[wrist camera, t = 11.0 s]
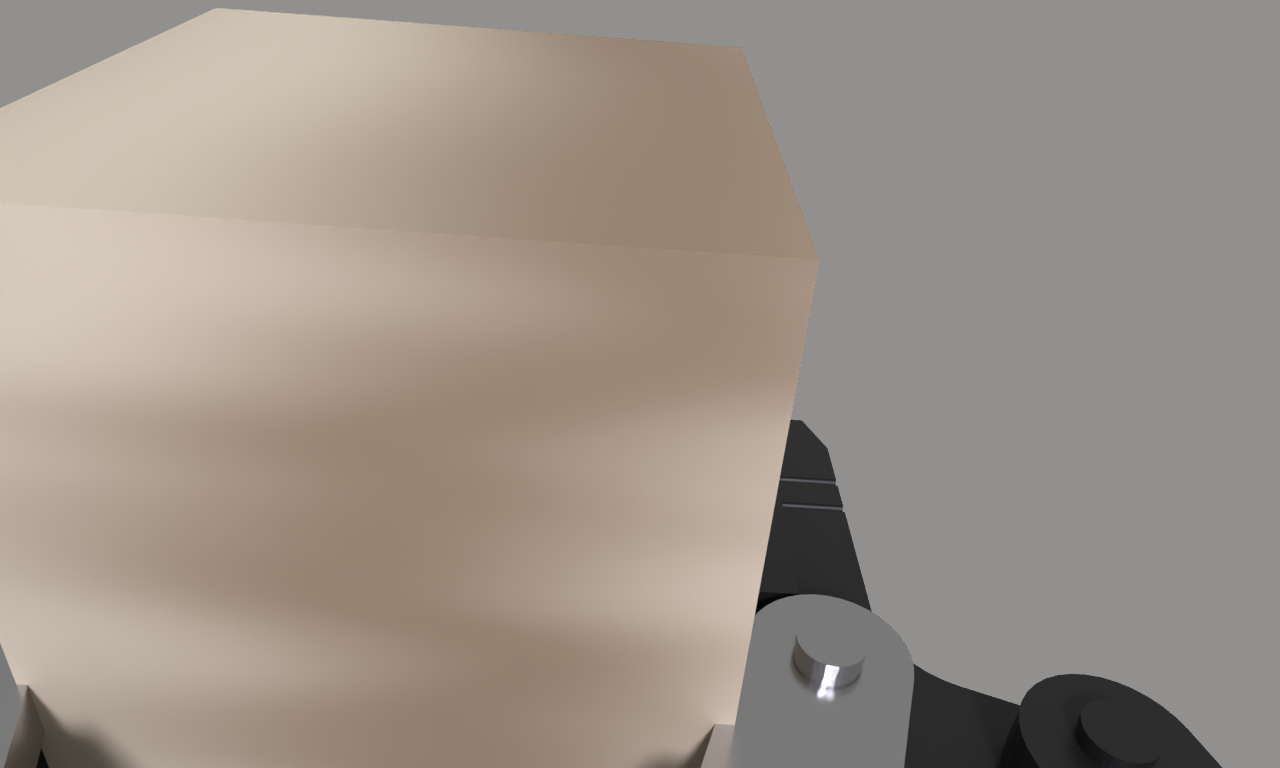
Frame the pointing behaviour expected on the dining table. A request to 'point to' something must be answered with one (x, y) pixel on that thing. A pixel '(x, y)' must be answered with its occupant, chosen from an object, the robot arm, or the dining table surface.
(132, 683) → the birch block
